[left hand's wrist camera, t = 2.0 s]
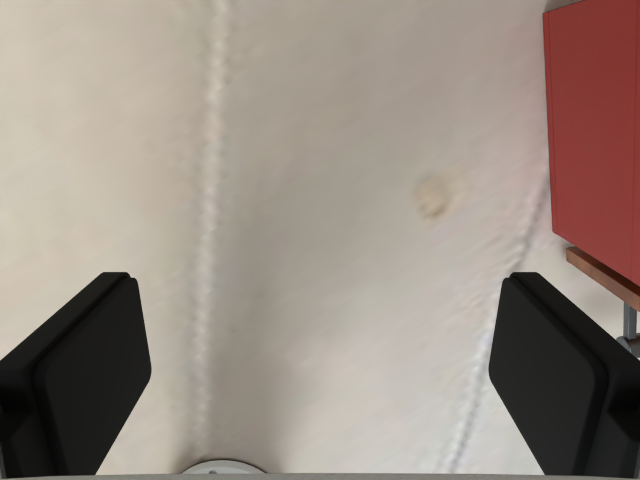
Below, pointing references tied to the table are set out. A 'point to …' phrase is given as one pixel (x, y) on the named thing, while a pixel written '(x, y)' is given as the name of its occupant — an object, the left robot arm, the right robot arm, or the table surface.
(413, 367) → the table surface
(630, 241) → the cabinet
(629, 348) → the drawer
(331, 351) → the table surface
